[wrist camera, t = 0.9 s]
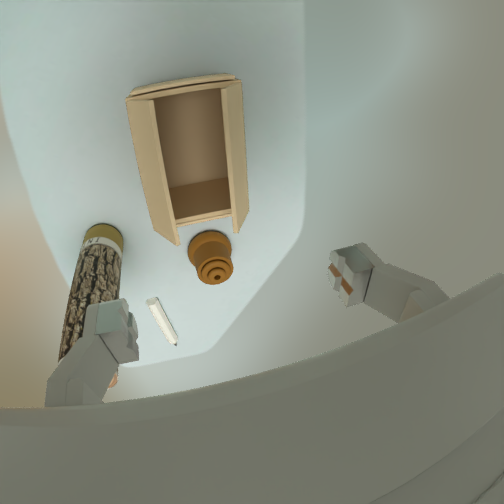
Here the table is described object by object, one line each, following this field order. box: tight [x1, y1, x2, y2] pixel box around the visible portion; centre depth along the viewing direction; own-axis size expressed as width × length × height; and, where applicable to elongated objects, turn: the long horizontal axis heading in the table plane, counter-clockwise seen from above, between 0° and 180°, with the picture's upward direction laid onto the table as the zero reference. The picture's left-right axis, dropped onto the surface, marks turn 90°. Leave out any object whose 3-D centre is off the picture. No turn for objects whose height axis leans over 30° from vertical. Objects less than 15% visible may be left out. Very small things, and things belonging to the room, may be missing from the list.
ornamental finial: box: [188, 231, 233, 285], centre depth 48 cm, size 8×8×8 cm
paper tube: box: [58, 225, 123, 389], centre depth 35 cm, size 7×7×25 cm
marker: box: [146, 297, 178, 346], centre depth 59 cm, size 3×2×16 cm
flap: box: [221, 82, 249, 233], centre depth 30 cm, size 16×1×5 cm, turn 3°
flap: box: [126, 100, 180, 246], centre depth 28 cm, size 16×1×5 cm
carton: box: [125, 73, 241, 227], centre depth 35 cm, size 17×12×10 cm
